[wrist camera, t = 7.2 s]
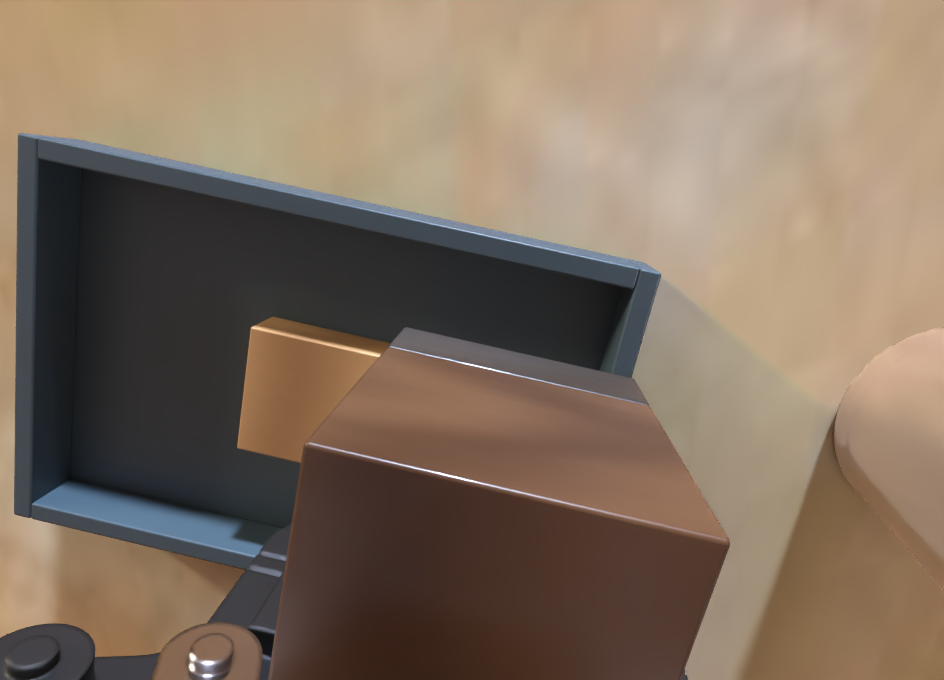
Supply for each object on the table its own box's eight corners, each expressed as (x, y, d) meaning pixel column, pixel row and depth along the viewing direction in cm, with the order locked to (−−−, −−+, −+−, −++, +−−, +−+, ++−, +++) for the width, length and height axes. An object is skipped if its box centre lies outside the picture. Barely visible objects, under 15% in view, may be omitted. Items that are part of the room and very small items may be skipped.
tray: (646, 262, 18) (662, 273, 16) (551, 597, 21) (553, 644, 19) (76, 139, 19) (16, 132, 17) (64, 482, 22) (13, 515, 20)
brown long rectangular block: (635, 377, 11) (733, 542, 6) (525, 745, 14) (528, 1101, 8) (404, 325, 11) (302, 442, 6) (334, 699, 14) (215, 1020, 8)
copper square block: (393, 343, 19) (382, 356, 18) (373, 455, 20) (360, 477, 19) (272, 315, 19) (250, 327, 18) (258, 429, 20) (235, 449, 19)
